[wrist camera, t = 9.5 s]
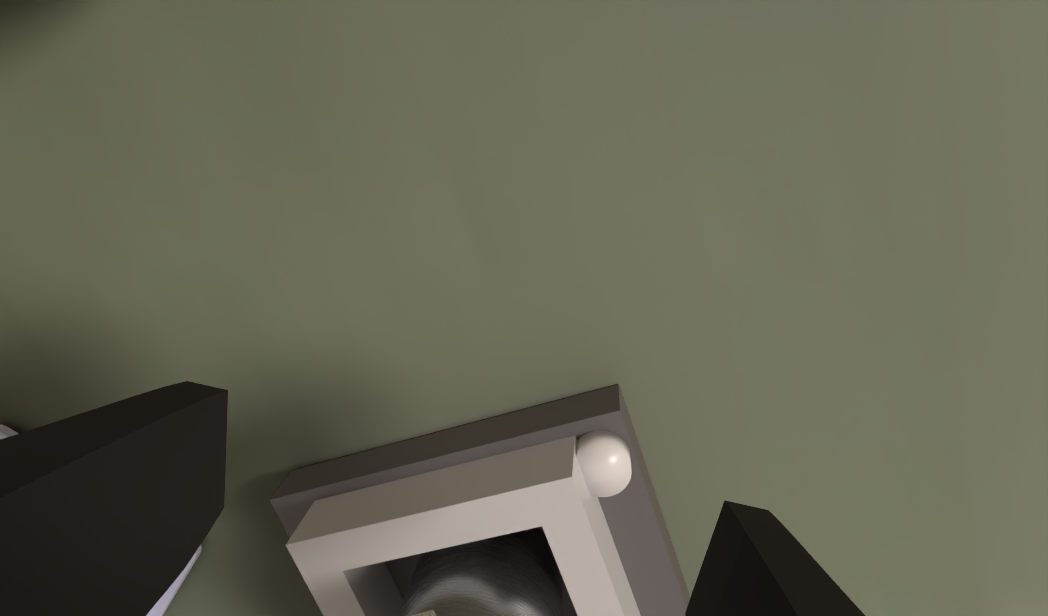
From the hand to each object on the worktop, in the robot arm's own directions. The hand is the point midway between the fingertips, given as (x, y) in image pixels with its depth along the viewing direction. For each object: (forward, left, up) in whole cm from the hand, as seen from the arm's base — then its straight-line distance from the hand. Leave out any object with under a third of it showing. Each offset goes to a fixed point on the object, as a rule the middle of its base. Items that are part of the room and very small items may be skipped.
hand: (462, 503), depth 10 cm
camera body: (-8, -4, -10) cm, 13 cm away
